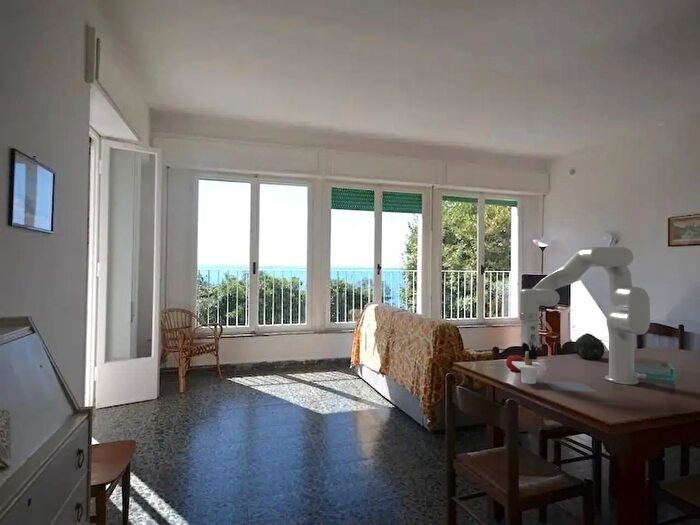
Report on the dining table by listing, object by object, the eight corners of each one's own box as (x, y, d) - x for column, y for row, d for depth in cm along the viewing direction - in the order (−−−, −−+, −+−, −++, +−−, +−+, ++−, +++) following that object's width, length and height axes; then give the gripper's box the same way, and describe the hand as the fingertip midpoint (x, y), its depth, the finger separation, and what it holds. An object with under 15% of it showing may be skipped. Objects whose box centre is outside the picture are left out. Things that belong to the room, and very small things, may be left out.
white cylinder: (539, 385, 175) (539, 369, 176) (521, 384, 177) (522, 368, 177) (535, 381, 182) (535, 365, 182) (518, 380, 184) (518, 364, 184)
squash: (597, 346, 242) (581, 326, 242) (615, 352, 227) (598, 331, 227) (579, 362, 242) (563, 342, 241) (595, 369, 227) (578, 348, 226)
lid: (537, 364, 185) (537, 349, 185) (546, 370, 174) (546, 354, 174) (511, 363, 186) (511, 349, 186) (519, 369, 175) (519, 353, 175)
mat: (581, 383, 180) (581, 382, 180) (597, 392, 166) (597, 391, 166) (543, 381, 182) (543, 380, 182) (555, 391, 168) (555, 390, 168)
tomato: (515, 367, 208) (515, 351, 208) (529, 371, 200) (529, 355, 200) (501, 369, 204) (502, 352, 205) (515, 373, 196) (516, 356, 197)
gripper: (545, 320, 171) (545, 361, 171) (531, 315, 188) (531, 353, 188) (526, 319, 172) (526, 360, 172) (514, 315, 189) (514, 352, 189)
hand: (528, 356), depth 180 cm, fingers open, 9 cm apart
